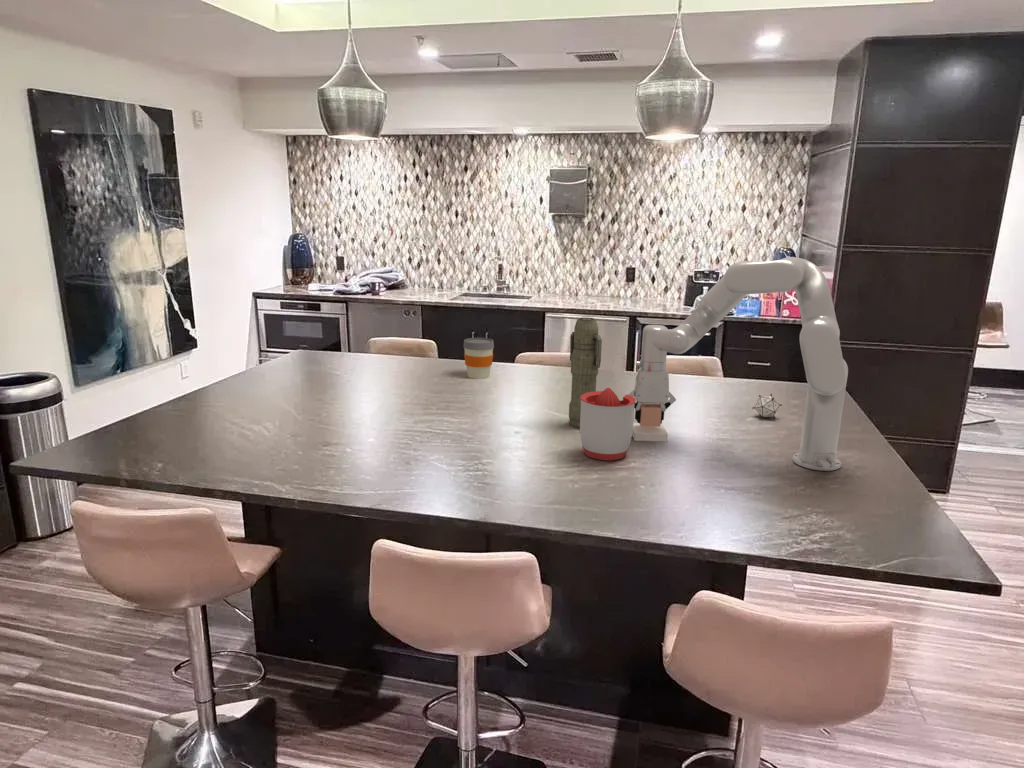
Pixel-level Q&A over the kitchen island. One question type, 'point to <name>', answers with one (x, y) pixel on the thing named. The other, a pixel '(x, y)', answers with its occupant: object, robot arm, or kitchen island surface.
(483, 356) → the reusable coffee cup
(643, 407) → the cube
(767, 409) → the game die
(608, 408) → the citrus juicer
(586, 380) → the thermos
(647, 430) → the block
